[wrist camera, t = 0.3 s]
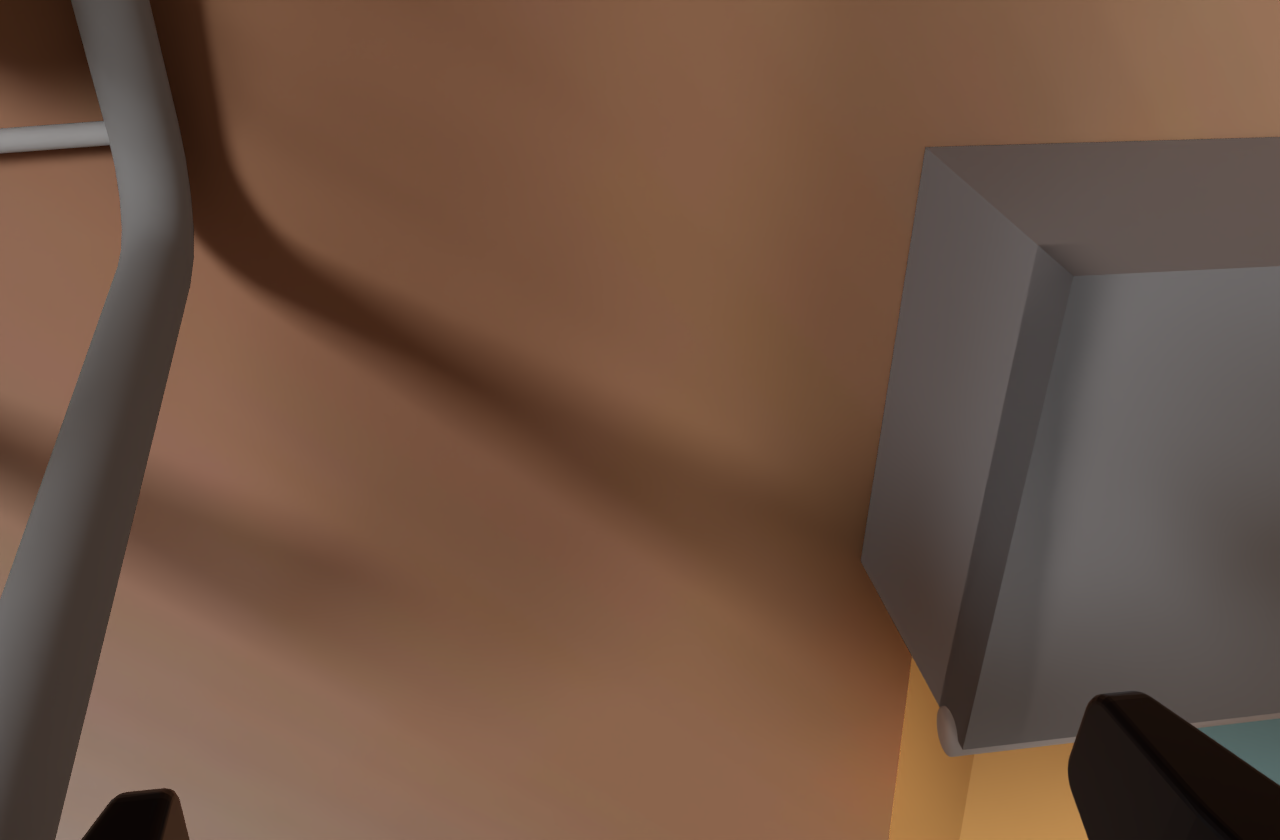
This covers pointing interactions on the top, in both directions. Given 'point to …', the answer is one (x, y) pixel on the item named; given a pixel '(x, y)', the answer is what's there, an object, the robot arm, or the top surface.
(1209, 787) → the robot arm
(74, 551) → the newton's cradle
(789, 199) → the top surface
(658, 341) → the top surface
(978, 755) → the tan rectangular slab
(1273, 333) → the dispenser
